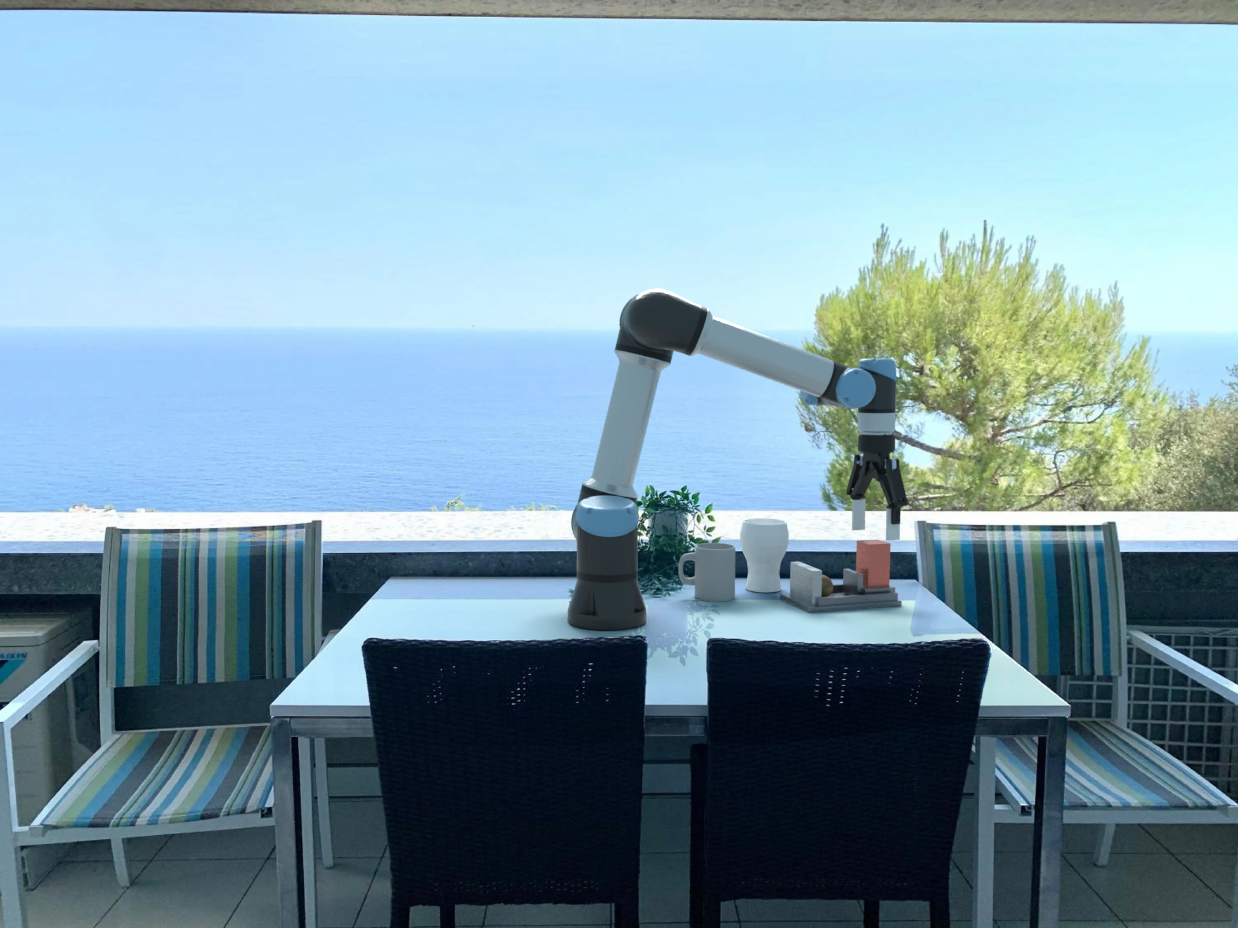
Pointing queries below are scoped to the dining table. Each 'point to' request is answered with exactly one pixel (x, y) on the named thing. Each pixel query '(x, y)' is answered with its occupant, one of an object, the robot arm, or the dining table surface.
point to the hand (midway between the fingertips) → (875, 534)
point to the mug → (711, 571)
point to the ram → (869, 569)
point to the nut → (826, 586)
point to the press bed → (809, 595)
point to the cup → (764, 552)
